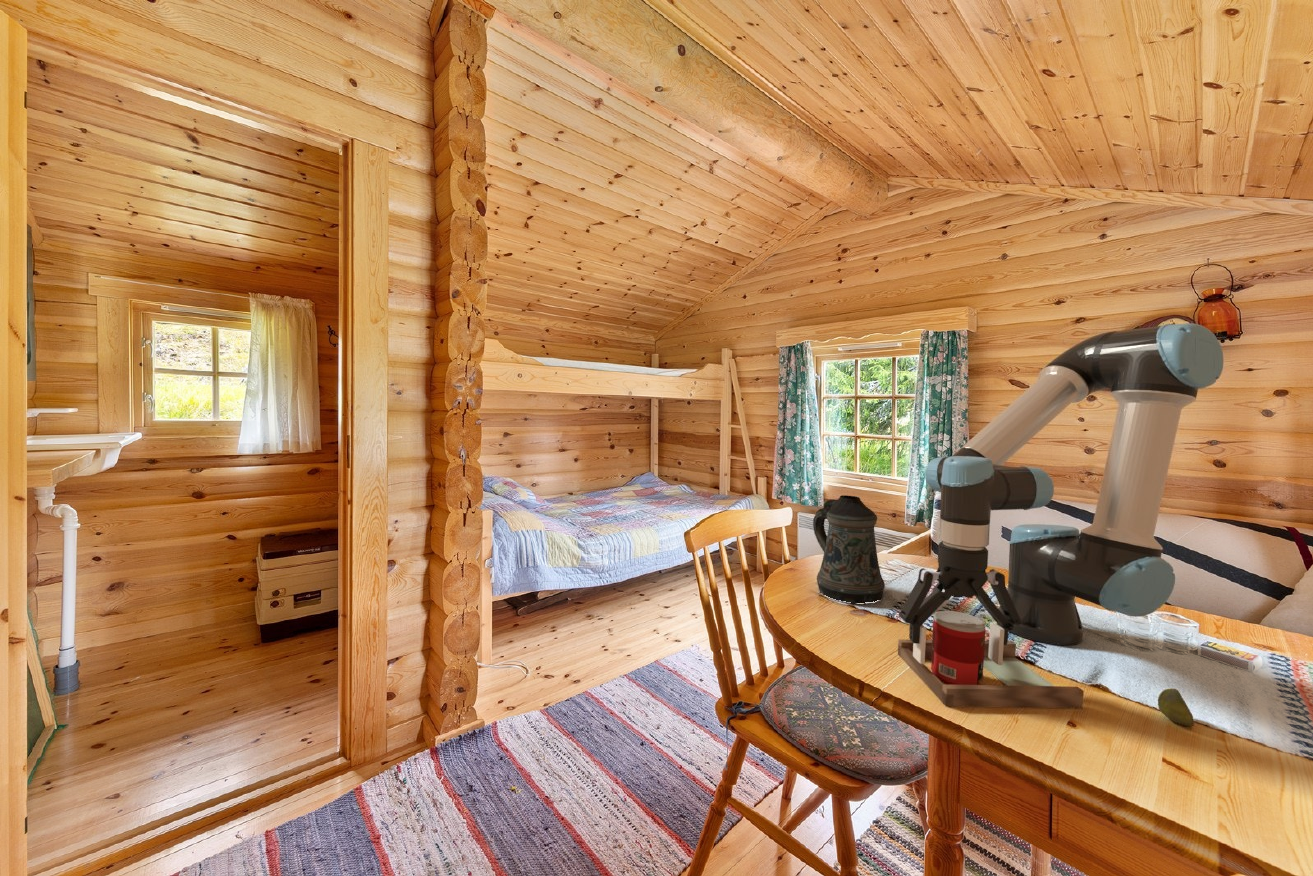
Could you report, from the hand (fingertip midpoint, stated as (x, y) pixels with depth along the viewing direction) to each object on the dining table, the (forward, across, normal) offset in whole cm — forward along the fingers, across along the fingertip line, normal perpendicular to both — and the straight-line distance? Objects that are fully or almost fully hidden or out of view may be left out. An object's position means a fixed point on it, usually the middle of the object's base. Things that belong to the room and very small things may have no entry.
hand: (956, 660), depth 90 cm
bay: (+3, -4, 0) cm, 6 cm away
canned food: (+4, 0, 0) cm, 4 cm away
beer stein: (+4, +6, -42) cm, 42 cm away
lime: (+4, -28, +12) cm, 30 cm away
